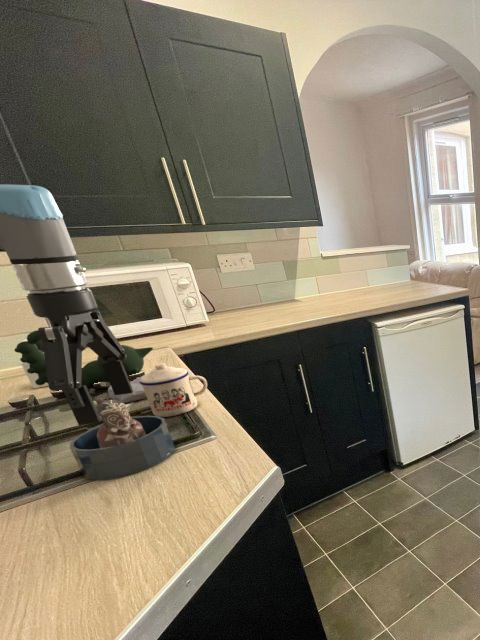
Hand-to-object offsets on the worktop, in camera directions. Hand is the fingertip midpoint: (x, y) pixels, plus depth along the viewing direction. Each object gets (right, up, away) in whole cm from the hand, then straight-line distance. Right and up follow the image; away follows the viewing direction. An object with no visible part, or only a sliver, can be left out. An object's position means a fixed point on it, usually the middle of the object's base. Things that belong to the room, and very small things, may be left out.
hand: (108, 407), depth 76 cm
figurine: (0, -10, +4) cm, 11 cm away
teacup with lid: (-7, -2, +26) cm, 27 cm away
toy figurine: (-39, +3, +40) cm, 56 cm away
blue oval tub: (0, -10, +4) cm, 11 cm away
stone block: (-23, +1, +34) cm, 42 cm away
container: (-59, +5, +45) cm, 75 cm away
